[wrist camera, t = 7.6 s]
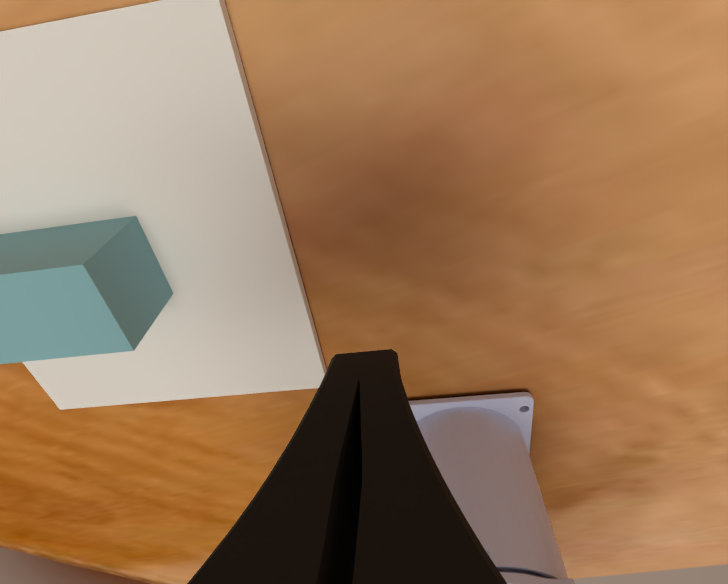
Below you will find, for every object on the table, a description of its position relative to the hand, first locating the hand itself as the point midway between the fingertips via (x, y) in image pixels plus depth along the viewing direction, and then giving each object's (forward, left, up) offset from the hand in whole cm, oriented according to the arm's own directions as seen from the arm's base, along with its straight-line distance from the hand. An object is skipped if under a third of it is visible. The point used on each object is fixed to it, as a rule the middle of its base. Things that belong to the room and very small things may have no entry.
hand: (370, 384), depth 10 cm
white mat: (-1, +12, -10) cm, 16 cm away
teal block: (-1, +10, -8) cm, 13 cm away
